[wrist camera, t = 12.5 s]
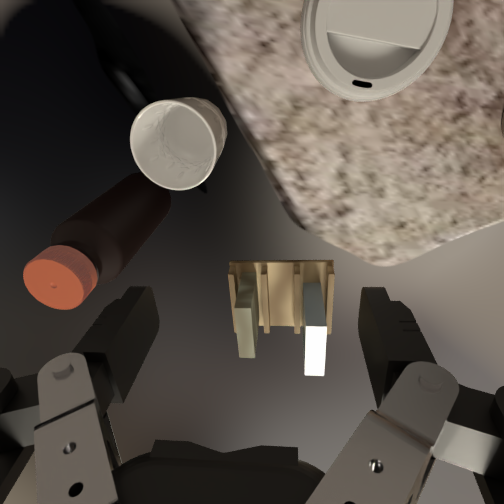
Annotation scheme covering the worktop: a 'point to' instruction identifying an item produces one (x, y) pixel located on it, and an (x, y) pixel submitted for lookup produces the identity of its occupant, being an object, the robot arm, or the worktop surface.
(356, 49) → the coffee cup
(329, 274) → the dish rack
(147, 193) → the bottle
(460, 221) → the worktop surface
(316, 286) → the pale blue-grey block
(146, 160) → the white cup
